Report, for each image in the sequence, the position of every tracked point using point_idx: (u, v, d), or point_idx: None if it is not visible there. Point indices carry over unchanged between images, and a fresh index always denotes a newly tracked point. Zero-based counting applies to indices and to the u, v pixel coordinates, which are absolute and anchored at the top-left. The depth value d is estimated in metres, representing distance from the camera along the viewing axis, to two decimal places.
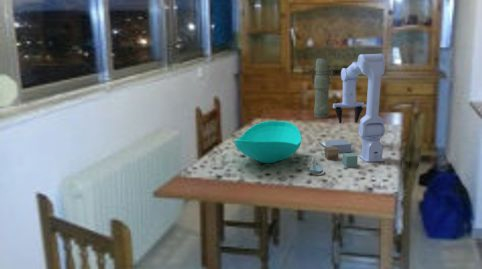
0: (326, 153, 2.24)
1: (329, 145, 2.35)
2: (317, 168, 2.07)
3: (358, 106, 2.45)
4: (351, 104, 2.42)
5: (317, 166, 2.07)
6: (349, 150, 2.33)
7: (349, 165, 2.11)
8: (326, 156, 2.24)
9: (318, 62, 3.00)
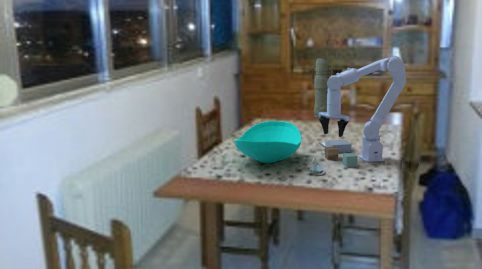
0: (326, 153, 2.24)
1: (329, 145, 2.35)
2: (318, 168, 2.07)
3: (342, 119, 2.20)
4: (330, 115, 2.21)
5: (318, 166, 2.07)
6: (349, 150, 2.34)
7: (349, 165, 2.11)
8: (326, 156, 2.24)
9: (318, 62, 3.00)
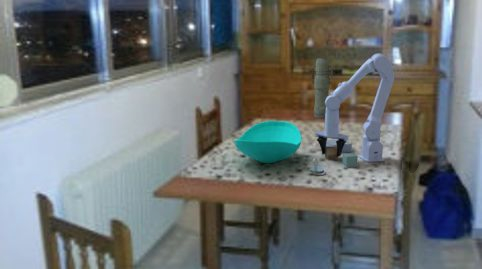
0: (326, 153, 2.24)
1: (329, 145, 2.35)
2: (318, 168, 2.06)
3: (341, 139, 2.20)
4: (329, 135, 2.20)
5: (318, 166, 2.07)
6: (349, 150, 2.34)
7: (349, 165, 2.11)
8: (326, 156, 2.24)
9: (318, 62, 3.00)
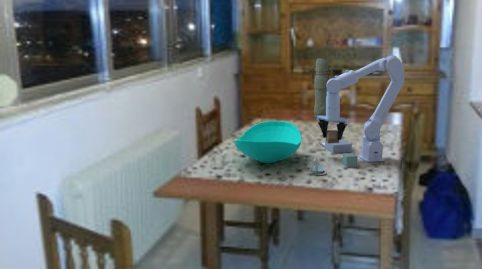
0: (327, 136, 2.23)
1: (330, 145, 2.35)
2: (319, 168, 2.06)
3: (341, 122, 2.19)
4: (330, 118, 2.19)
5: (319, 166, 2.07)
6: (350, 150, 2.34)
7: (349, 165, 2.11)
8: (327, 139, 2.24)
9: (318, 62, 3.00)
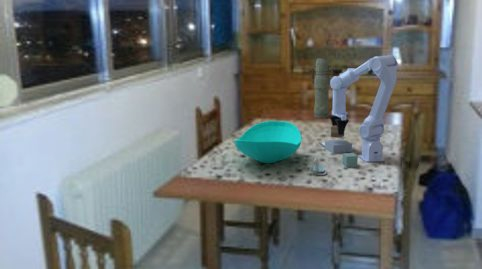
0: None
1: (330, 145, 2.35)
2: (320, 168, 2.06)
3: (341, 118, 2.29)
4: (333, 113, 2.33)
5: (320, 166, 2.07)
6: (350, 150, 2.34)
7: (349, 165, 2.11)
8: None
9: (318, 62, 3.00)
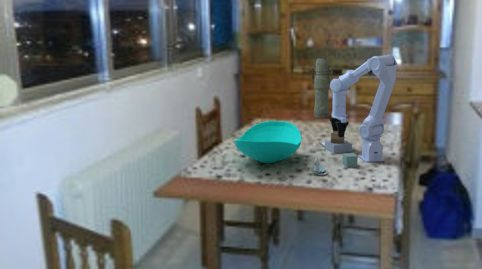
0: None
1: (330, 145, 2.34)
2: (320, 168, 2.06)
3: (341, 120, 2.30)
4: (332, 115, 2.33)
5: (320, 166, 2.07)
6: (350, 150, 2.34)
7: (349, 165, 2.11)
8: None
9: (318, 62, 3.00)
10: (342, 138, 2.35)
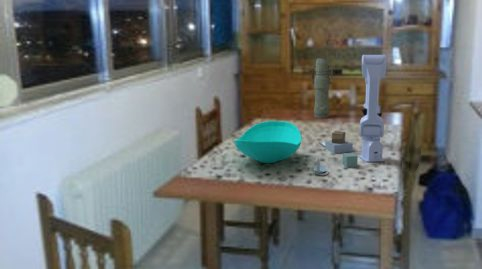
0: None
1: (330, 145, 2.35)
2: (321, 168, 2.06)
3: None
4: (366, 106, 2.38)
5: (321, 166, 2.07)
6: (350, 150, 2.34)
7: (349, 165, 2.11)
8: None
9: (318, 62, 3.00)
10: (343, 138, 2.35)
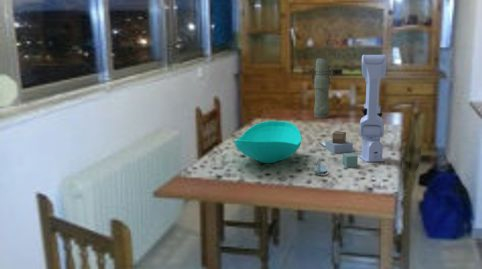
0: None
1: (331, 145, 2.35)
2: (321, 168, 2.06)
3: None
4: (366, 106, 2.38)
5: (321, 166, 2.07)
6: (350, 150, 2.34)
7: (349, 165, 2.11)
8: None
9: (318, 62, 3.00)
10: (344, 138, 2.35)
